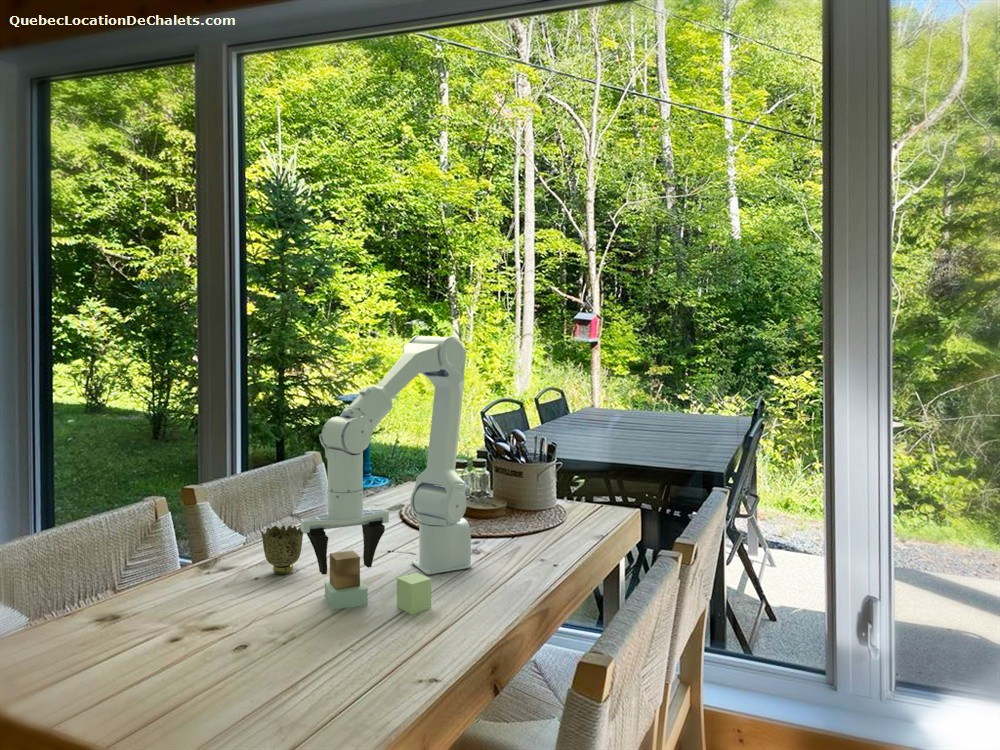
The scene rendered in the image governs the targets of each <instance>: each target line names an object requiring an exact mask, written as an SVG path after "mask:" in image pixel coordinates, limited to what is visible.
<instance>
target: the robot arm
mask: <svg viewBox="0 0 1000 750" xmlns="http://www.w3.org/2000/svg"><path fill="white" fill-rule="evenodd" d="M466 358H467V349H466V348H465V346H464V344H462V342H461V341H460V339H459V338H458V337H456V336H427V335H425V336H424V335H420V334H419V335H414V336H412V337H411V338H410V339H409V341H408V342H407V343H406V344H405V345H403V347H402V355H401V356H400V357H399V358H398V360H397V361H396V362H395V363H394V364H393V366H391V368H390V369H389V371H388V372H387V373H386V374H385V375H384V376H383V378H382V379H381V380H380V381H379V383H378V384H377V385H368V386H366V387H362V388H361V389H360V390H359V391H358V393H359V394H358V395H357V396H356V398H355V399H353V401H352V402H351V403H350V404H349V405H347V407H345V408H344V409H343V410H342V412H341V414H339V416H338V415H337V416H336V415H335V416H332V417H331V418H328V420H327V421H326V422H325V423H324V425H323V427H322V429H321V433H320V434H319V441H320V445H321V446H322V447H323V448H324V452H325V454H324V455H325V458H326V460H327V513H324V514H319V515H314V516H311V517H305V518H300V527H301V531H302V532H303V534H306V536H307V537H308V539H309V542H310V543H311V546H312V547H313V551H314V553H315V557H316V559H317V560H316V561H317V564H318V570H319V573H320V574H321V575H324V576H325V575H327V574H328V561H327V560H328V558H327V556H328V555H327V554H328V553H327V552H328V542H329V537H328V535H327V534H326V531H325V530H331V529H339V528H347V527H354V526H356V527H357V526H361V528H362V529H361V530H362V536H363V555H362V556H363V557H362V558H363V565H364V566H365V567H367V568H372V566H373V563H374V562H373V561H374V557H375V553H376V550H377V547H378V545H379V542H380V540H381V538H382V536H383V535H384V533H385V530H386V529H385V525H384V524H387V523H388V524H389V522H390V521H389V516H390V513H389V511H388V510H387V509H386V508H381V509H364V487H363V486H364V485H363V484H364V481H363V479H364V478H363V476H364V471H363V470H364V469H363V467H364V457H363V455H364V454H363V453H364V452H363V451H365V450H367V448H368V447H369V445H370V444H371V443H370V442H371V438H372V434H373V433H374V432H375V431H374V430H375V428H376V427H377V426H378V425H379V424H380V423H381V422H382V421H383V419H384V418H385V417H387V415H388V414H389V413H390V412H391V411H392V409H393V399H394V398H395V397H396V396H397V395H398V394H399V393H400V392H401V391H402V390H403V389H404V388H405V387H407V385H409V384H410V383H411V382H412V381H413V380H414V379H415V378H417V376H418V375H419V374H421V375H423V376H424V377H426V378H427V379H428V380H429V381H430V382H431V384H432V385H433V387H434V393H433V394H434V395H433V404H432V414H431V423H430V431H429V432H430V433H429V442H428V451H427V452H428V453H427V460H426V462H427V463H426V468H425V470H423V471H421V473H420V474H418V475H417V476H416V480H415V485H414V488H413V490H412V493H411V495H410V507H411V509H412V512H413V513H414V514H415V515H416V520H417V521H419V522H418V523H419V525H418V526H419V529H418V530H419V537H418V539H419V542H418V543H419V545H418V547H419V552H418V553H419V554H418V557H419V558H418V559H413V560H411V564H412V565H414V566H415V567H417V568H418V569H419V570H420V571H422V572H423V573H424V574H425V575H434V574H440V573H446V572H452V571H457V570H458V571H460V570H465V569H470V567H471V568H473V564H472V563H471V562H472V559H471V557H472V547H471V546H472V534H471V529H470V528H471V527H470V524H469V522H468V520H467V519H466V518H464V515H465V513H466V511H467V496H466V482H465V481H464V480H463V479H462V477H461V476H460V475H459V473H457V472H456V466H457V455H458V454H457V453H458V445H459V437H460V436H459V434H460V425H461V415H462V406H463V396H464V388H465V387H464V385H465V368H466V362H467V361H466Z"/></svg>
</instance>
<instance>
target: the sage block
mask: <svg viewBox="0 0 1000 750" xmlns="http://www.w3.org/2000/svg"><path fill="white" fill-rule="evenodd" d="M396 608H397V609H399V610H402V611H403V612H404V613H405V612H406V613H407V614H410V615H414V614H418V613H420V612H423V611H427V610H429V609H432V578H430V576H426V575H424V574H421V573H419V572H414V573H411V574H410V573H409V574H406V575H402V576H400V577H396Z"/></svg>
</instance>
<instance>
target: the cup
mask: <svg viewBox="0 0 1000 750" xmlns="http://www.w3.org/2000/svg"><path fill="white" fill-rule="evenodd" d="M265 530H266V532H264V531H261V539H262V545H263V552H264V557H265V559H266V561H267V562H268V564H270V565H271V566H273V567H272V570H273V573H274V574H276V575H288V574H290V573H292V572H293V570H294V564H295V563H296V562H297V561H298V560H299V558H300V556H301V553H302V546H303V537H304V533H303V532H302V531H301V526H299V528H297V527H296V525H294V526H292V525H291V524H290V525H288V526H287V528H286V526H285V525H282V526H281V528H280V527H279V526H277V525H273V526H271V528H270V527H267V528H266V529H265Z"/></svg>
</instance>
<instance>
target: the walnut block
mask: <svg viewBox="0 0 1000 750" xmlns="http://www.w3.org/2000/svg"><path fill="white" fill-rule="evenodd" d="M360 578H361V556H360V555H359V554H357V553H356V552H355V551H354V550H345V551H339V552H338V551H337V552H331V553H329V581H330V583H331V584H332V586H333V587H334V588H335V589H336V590H339V589H345V588H352V587H358V586H360Z"/></svg>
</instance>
